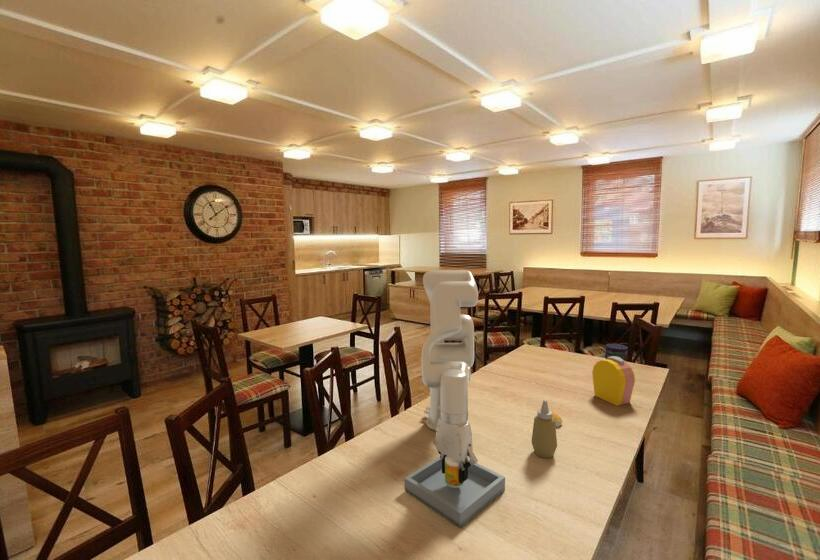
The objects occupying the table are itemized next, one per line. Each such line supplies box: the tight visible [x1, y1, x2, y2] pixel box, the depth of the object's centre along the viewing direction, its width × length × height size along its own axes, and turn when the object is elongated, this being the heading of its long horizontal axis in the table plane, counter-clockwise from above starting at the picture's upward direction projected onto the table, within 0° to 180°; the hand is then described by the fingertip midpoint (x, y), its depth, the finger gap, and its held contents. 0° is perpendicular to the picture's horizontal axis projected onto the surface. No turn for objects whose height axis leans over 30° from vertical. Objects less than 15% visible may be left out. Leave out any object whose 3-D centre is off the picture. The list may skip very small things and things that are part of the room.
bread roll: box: [550, 410, 563, 428], centre depth 149 cm, size 8×9×4 cm
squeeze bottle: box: [531, 399, 558, 459], centre depth 127 cm, size 8×8×18 cm
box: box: [404, 456, 506, 529], centre depth 110 cm, size 20×20×4 cm
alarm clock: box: [592, 356, 636, 406], centre depth 167 cm, size 15×8×18 cm, turn 22°
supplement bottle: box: [445, 456, 464, 488], centre depth 109 cm, size 5×5×10 cm
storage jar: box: [604, 342, 628, 362], centre depth 195 cm, size 10×10×15 cm
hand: (454, 475), depth 110 cm, fingers closed on supplement bottle, 5 cm apart
